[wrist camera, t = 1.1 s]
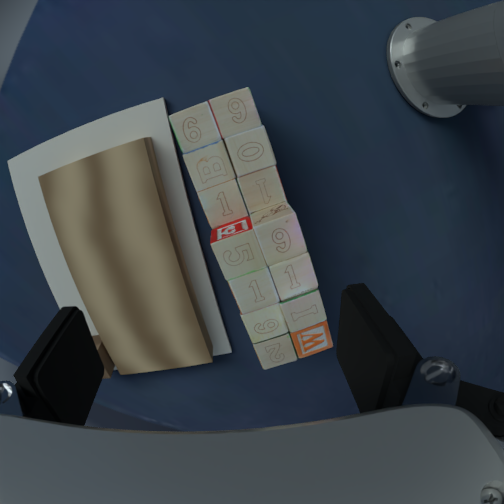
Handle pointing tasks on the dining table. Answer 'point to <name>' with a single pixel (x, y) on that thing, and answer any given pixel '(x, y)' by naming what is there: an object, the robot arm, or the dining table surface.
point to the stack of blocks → (253, 227)
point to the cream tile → (159, 129)
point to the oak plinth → (127, 258)
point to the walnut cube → (104, 357)
